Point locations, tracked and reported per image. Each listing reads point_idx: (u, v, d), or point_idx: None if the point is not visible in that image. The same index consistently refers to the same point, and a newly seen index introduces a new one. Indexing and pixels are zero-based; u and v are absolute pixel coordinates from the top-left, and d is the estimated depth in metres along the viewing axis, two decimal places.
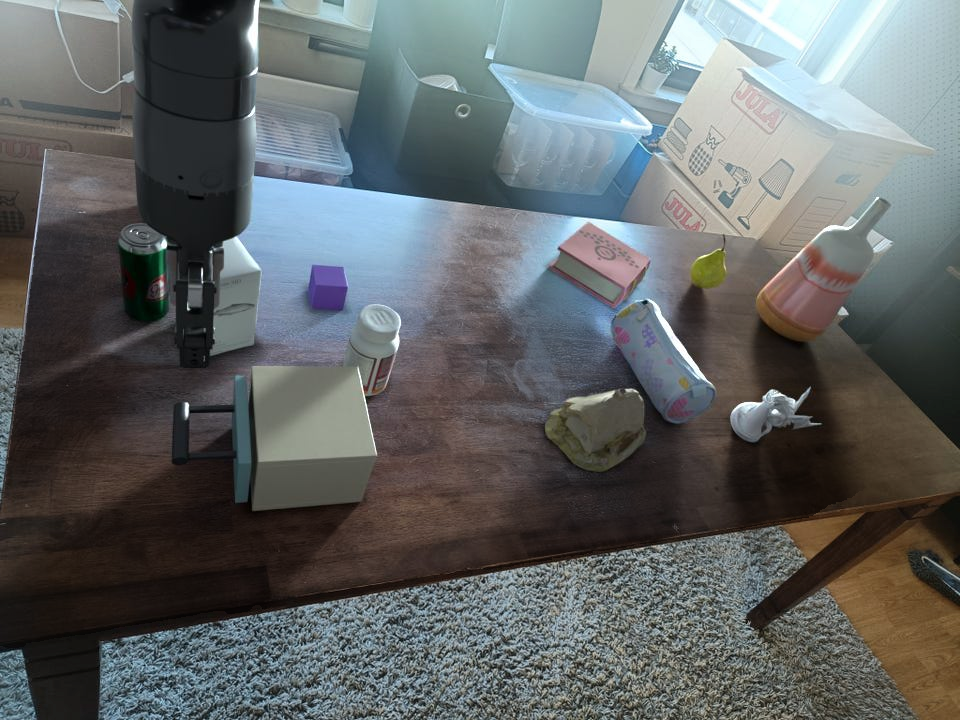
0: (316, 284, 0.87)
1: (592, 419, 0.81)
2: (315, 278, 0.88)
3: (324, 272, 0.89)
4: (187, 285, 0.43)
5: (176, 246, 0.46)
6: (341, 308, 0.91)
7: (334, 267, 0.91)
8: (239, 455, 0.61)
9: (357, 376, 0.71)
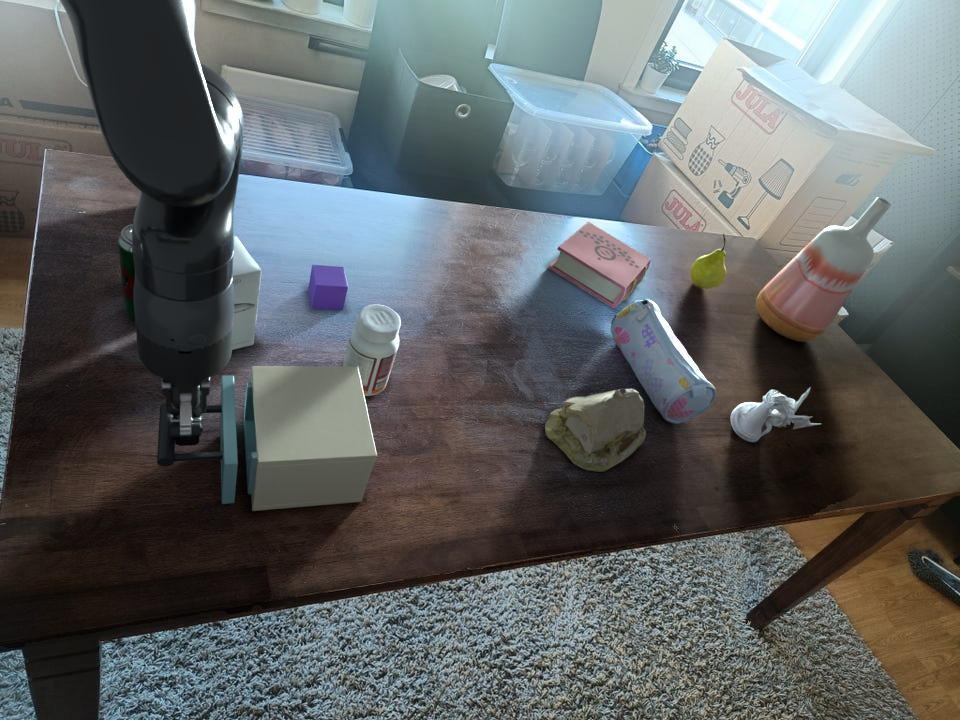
0: (316, 284, 0.87)
1: (592, 419, 0.81)
2: (315, 278, 0.88)
3: (324, 272, 0.89)
4: (179, 432, 0.54)
5: None
6: (341, 308, 0.91)
7: (334, 267, 0.91)
8: (225, 456, 0.60)
9: (357, 376, 0.71)
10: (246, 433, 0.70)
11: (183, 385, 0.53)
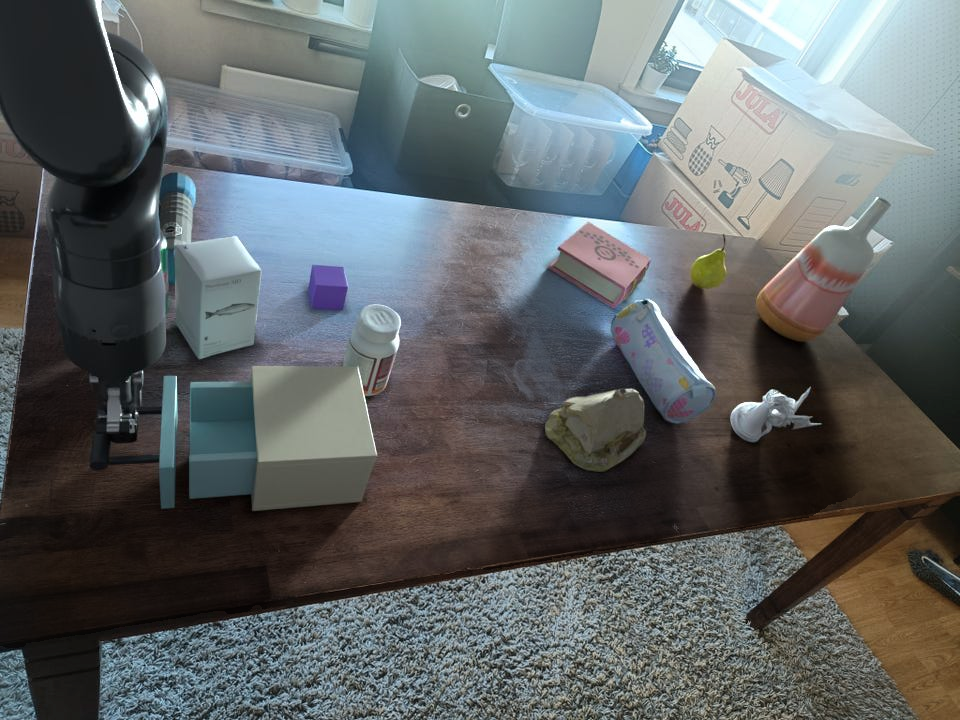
0: (316, 284, 0.87)
1: (592, 419, 0.81)
2: (315, 278, 0.88)
3: (324, 272, 0.89)
4: (106, 428, 0.51)
5: None
6: (341, 308, 0.91)
7: (334, 267, 0.91)
8: (160, 459, 0.58)
9: (357, 376, 0.71)
10: (191, 435, 0.67)
11: (110, 379, 0.51)
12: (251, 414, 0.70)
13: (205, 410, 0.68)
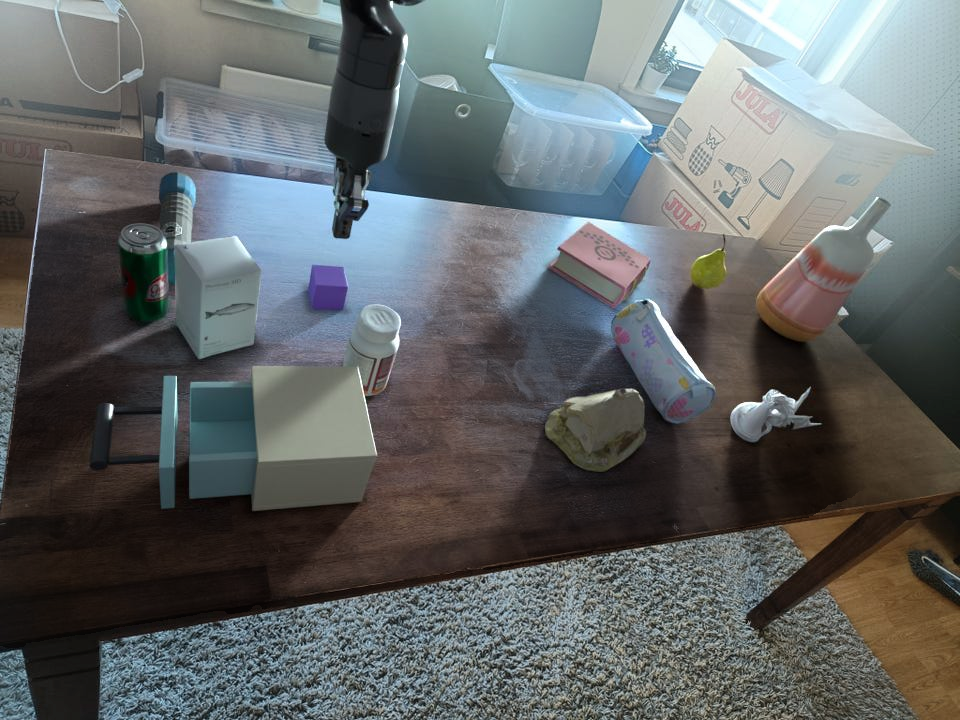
0: (316, 284, 0.87)
1: (592, 419, 0.81)
2: (315, 278, 0.88)
3: (324, 272, 0.89)
4: (353, 203, 0.74)
5: (343, 168, 0.76)
6: (341, 308, 0.91)
7: (334, 267, 0.91)
8: (160, 459, 0.58)
9: (357, 376, 0.71)
10: (191, 435, 0.67)
11: (358, 166, 0.73)
12: (251, 414, 0.70)
13: (205, 410, 0.68)
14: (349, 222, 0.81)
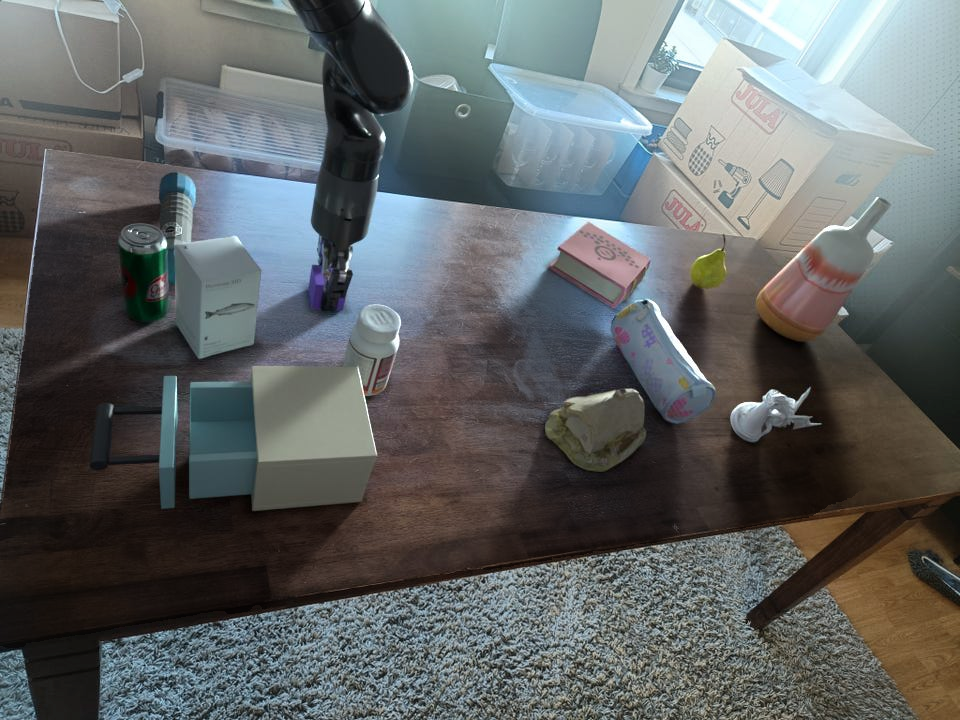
0: (316, 284, 0.87)
1: (592, 419, 0.81)
2: (315, 278, 0.88)
3: None
4: (339, 272, 0.81)
5: (328, 245, 0.84)
6: (341, 308, 0.91)
7: None
8: (160, 459, 0.58)
9: (357, 376, 0.71)
10: (191, 435, 0.67)
11: (341, 245, 0.81)
12: (251, 414, 0.70)
13: (205, 410, 0.68)
14: (336, 298, 0.88)
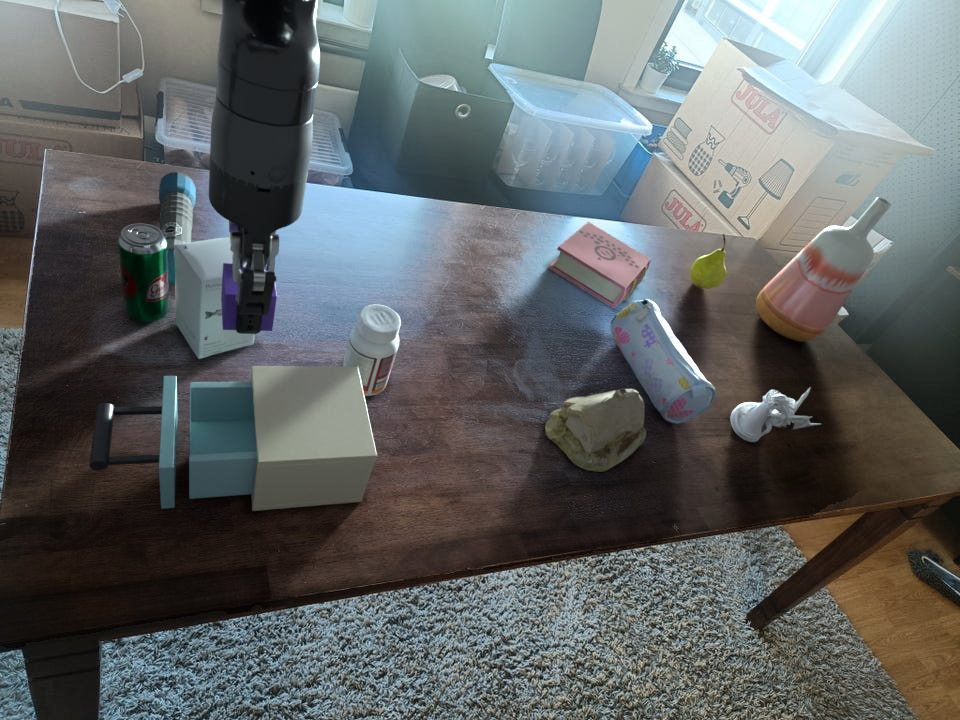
0: (226, 293, 0.57)
1: (592, 419, 0.81)
2: (225, 284, 0.58)
3: None
4: (252, 276, 0.51)
5: (239, 232, 0.54)
6: (269, 328, 0.61)
7: None
8: (160, 459, 0.58)
9: (357, 376, 0.71)
10: (191, 435, 0.67)
11: (257, 232, 0.51)
12: (251, 414, 0.70)
13: (205, 410, 0.68)
14: (257, 314, 0.58)
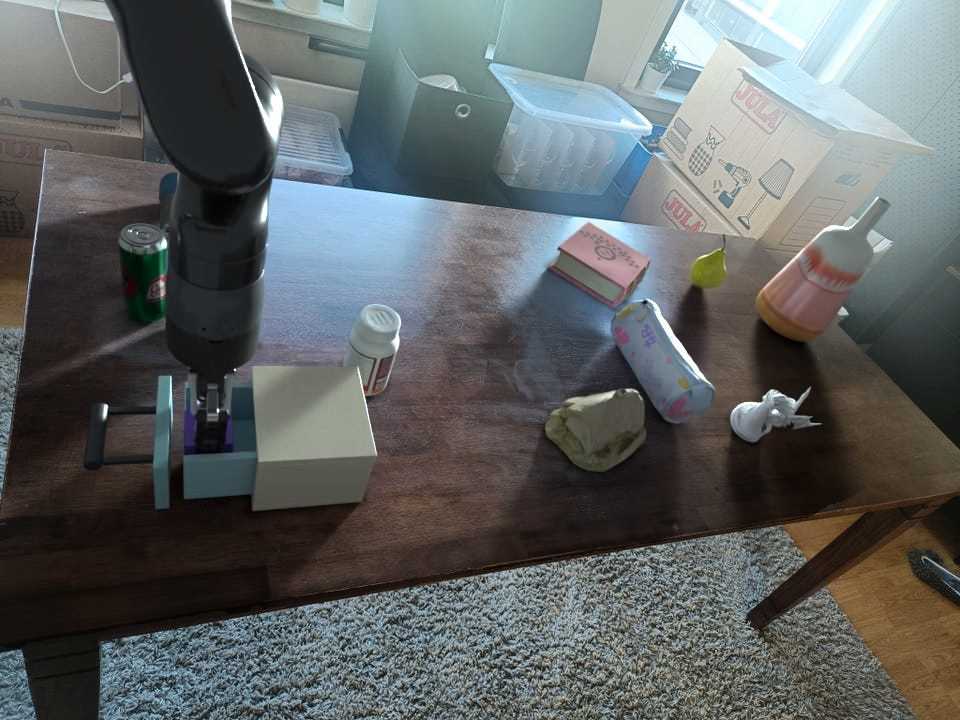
0: (185, 444, 0.61)
1: (592, 419, 0.81)
2: (185, 434, 0.62)
3: None
4: (206, 416, 0.53)
5: None
6: None
7: None
8: (155, 459, 0.58)
9: (357, 376, 0.71)
10: None
11: (211, 375, 0.53)
12: (247, 414, 0.70)
13: None
14: None
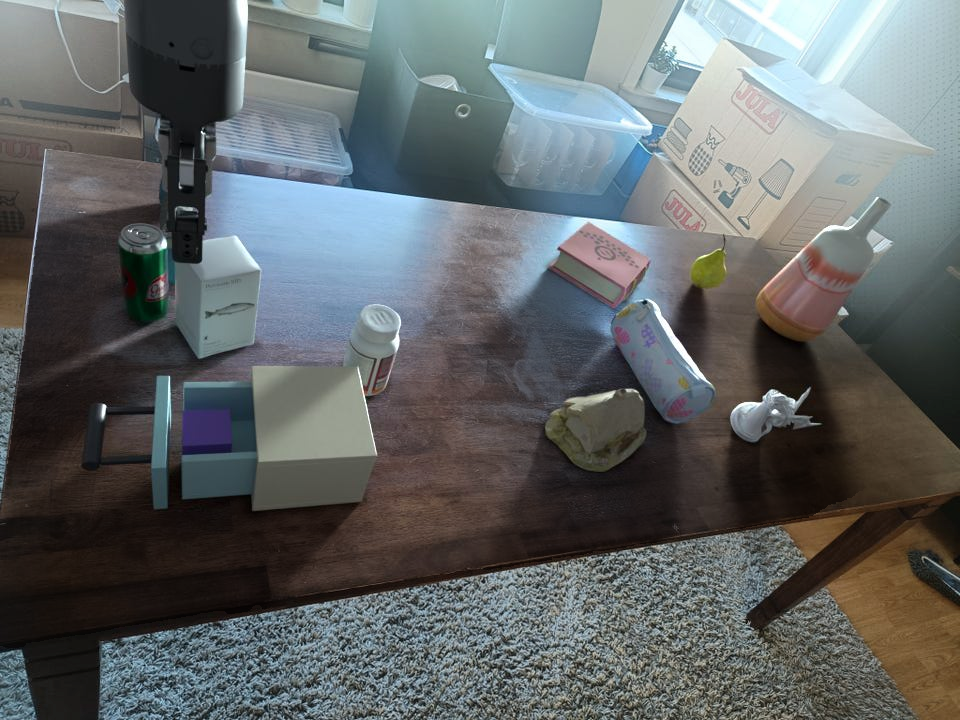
0: (183, 444, 0.61)
1: (592, 419, 0.81)
2: (183, 434, 0.62)
3: (198, 422, 0.64)
4: (178, 160, 0.43)
5: (168, 130, 0.46)
6: None
7: (216, 411, 0.65)
8: (153, 460, 0.58)
9: (357, 376, 0.71)
10: None
11: (184, 125, 0.44)
12: (245, 414, 0.70)
13: None
14: (194, 237, 0.49)
